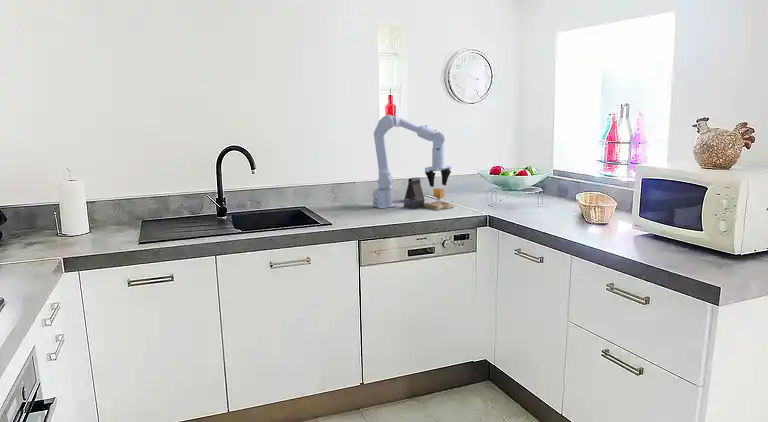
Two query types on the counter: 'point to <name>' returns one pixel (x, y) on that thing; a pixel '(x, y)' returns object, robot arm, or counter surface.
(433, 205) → the key tray
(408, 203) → the chuck block
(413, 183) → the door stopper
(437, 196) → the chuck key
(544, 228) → the counter surface
